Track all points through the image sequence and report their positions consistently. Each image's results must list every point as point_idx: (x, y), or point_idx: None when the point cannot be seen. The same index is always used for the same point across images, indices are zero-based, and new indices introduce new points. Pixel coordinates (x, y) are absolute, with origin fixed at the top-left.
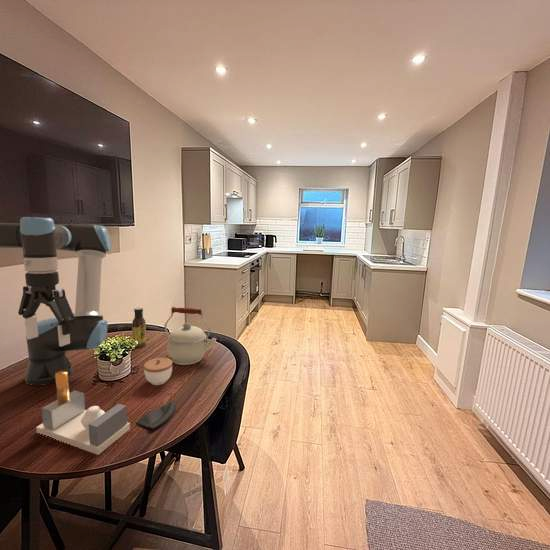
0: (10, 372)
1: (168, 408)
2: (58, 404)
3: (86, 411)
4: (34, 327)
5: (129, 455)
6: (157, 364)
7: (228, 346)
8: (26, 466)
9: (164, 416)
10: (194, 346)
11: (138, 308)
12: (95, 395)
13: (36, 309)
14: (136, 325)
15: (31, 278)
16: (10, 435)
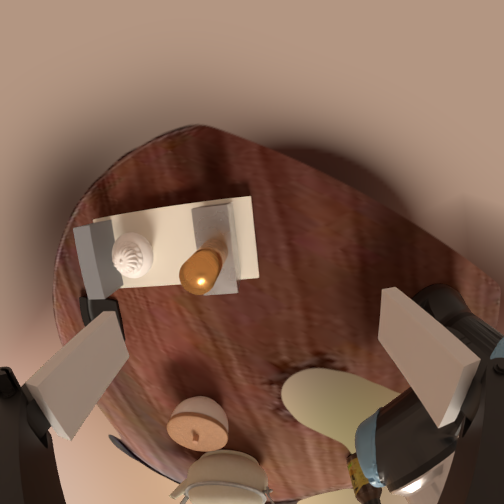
0: (490, 288)
1: None
2: (205, 233)
3: (128, 250)
4: (407, 360)
5: (68, 241)
6: (191, 431)
7: None
8: (171, 142)
9: None
10: (189, 481)
11: None
12: (273, 330)
13: (446, 484)
14: (366, 487)
15: None
16: (292, 168)
